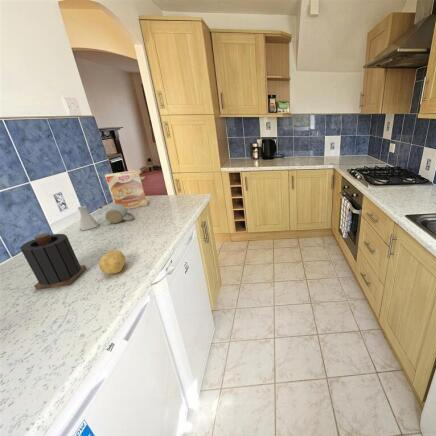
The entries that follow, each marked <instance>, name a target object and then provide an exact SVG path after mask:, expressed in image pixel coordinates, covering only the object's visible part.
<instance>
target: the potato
mask: <svg viewBox="0 0 436 436" xmlns="http://www.w3.org/2000/svg"><path fill="white" fill-rule="evenodd" d="M126 261H127V259H126V256H125V254H124V253H123V252H122V251H121V250H118V249H113V250H109V251H108V252H106V253H105V254H104V255H102V256H101V258H100V259H99V262H98V266H99V269H100V270H101V272H102V273H104V274H106V275H115V274H118V273H120V272H121V271H122V269H123V268H124V266H125V263H126Z"/></svg>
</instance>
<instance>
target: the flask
mask: <svg viewBox="0 0 436 436" xmlns="http://www.w3.org/2000/svg"><path fill="white" fill-rule="evenodd" d="M87 208H88V206H87V205H82V206H78V207H77V210H78V211H79V214H80V223H79V225H80V226H79V229H80V230H82V231H86V230H92V229H94V228H97V227H99V225H100V224H99V222H97V220H96V219H95V218H94V217H93V216H92V215H91V214H90V212H89V210H88V209H87Z"/></svg>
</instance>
